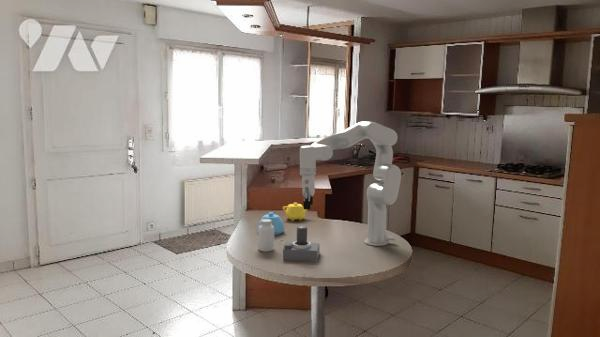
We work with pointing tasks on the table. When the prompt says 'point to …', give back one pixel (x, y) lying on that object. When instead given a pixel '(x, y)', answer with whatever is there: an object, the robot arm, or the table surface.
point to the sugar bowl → (274, 222)
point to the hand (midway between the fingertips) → (308, 206)
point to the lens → (301, 235)
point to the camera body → (301, 251)
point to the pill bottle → (266, 235)
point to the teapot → (295, 211)
